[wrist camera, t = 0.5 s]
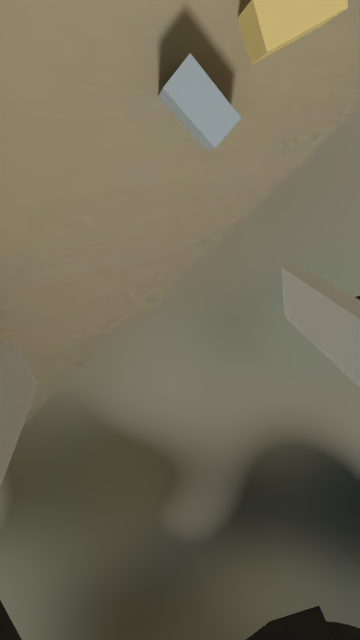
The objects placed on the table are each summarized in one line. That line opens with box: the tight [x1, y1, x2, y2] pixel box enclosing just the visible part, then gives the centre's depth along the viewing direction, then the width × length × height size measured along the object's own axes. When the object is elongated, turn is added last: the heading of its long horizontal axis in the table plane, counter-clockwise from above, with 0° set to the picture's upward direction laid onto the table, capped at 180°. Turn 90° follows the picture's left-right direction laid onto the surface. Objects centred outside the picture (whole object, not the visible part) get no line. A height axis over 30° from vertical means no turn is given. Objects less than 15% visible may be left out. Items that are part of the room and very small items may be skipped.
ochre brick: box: [238, 0, 348, 65], centre depth 30 cm, size 8×4×4 cm, turn 116°
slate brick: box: [159, 54, 241, 150], centre depth 32 cm, size 7×4×4 cm, turn 47°
